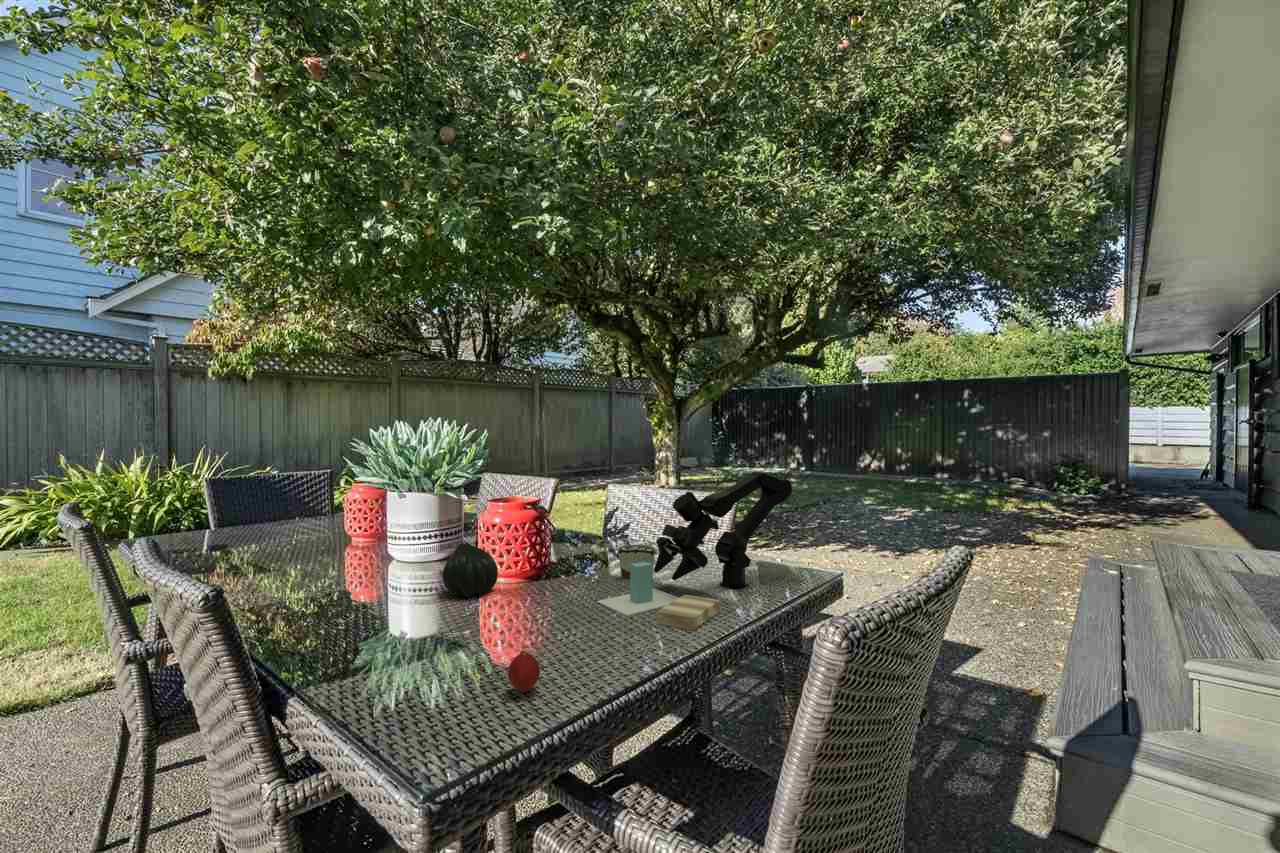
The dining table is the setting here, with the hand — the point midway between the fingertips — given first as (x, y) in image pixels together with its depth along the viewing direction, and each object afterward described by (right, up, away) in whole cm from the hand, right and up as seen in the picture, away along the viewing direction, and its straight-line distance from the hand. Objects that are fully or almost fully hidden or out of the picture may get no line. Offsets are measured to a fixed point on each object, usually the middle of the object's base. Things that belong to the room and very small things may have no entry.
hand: (663, 575), depth 170 cm
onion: (-28, -8, -57) cm, 64 cm away
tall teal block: (-6, -6, -4) cm, 9 cm away
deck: (+6, -7, -16) cm, 18 cm away
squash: (-55, -6, +4) cm, 56 cm away
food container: (-7, -6, +21) cm, 23 cm away
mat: (-6, -6, -4) cm, 10 cm away
